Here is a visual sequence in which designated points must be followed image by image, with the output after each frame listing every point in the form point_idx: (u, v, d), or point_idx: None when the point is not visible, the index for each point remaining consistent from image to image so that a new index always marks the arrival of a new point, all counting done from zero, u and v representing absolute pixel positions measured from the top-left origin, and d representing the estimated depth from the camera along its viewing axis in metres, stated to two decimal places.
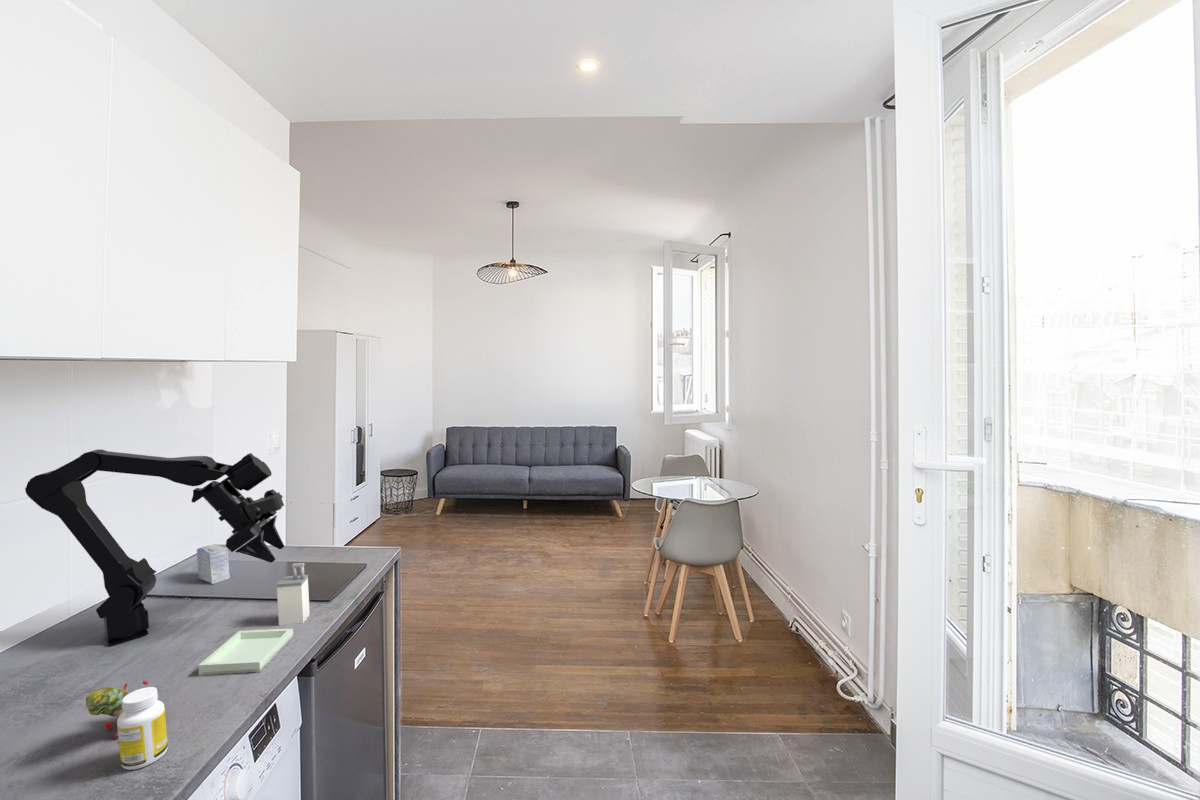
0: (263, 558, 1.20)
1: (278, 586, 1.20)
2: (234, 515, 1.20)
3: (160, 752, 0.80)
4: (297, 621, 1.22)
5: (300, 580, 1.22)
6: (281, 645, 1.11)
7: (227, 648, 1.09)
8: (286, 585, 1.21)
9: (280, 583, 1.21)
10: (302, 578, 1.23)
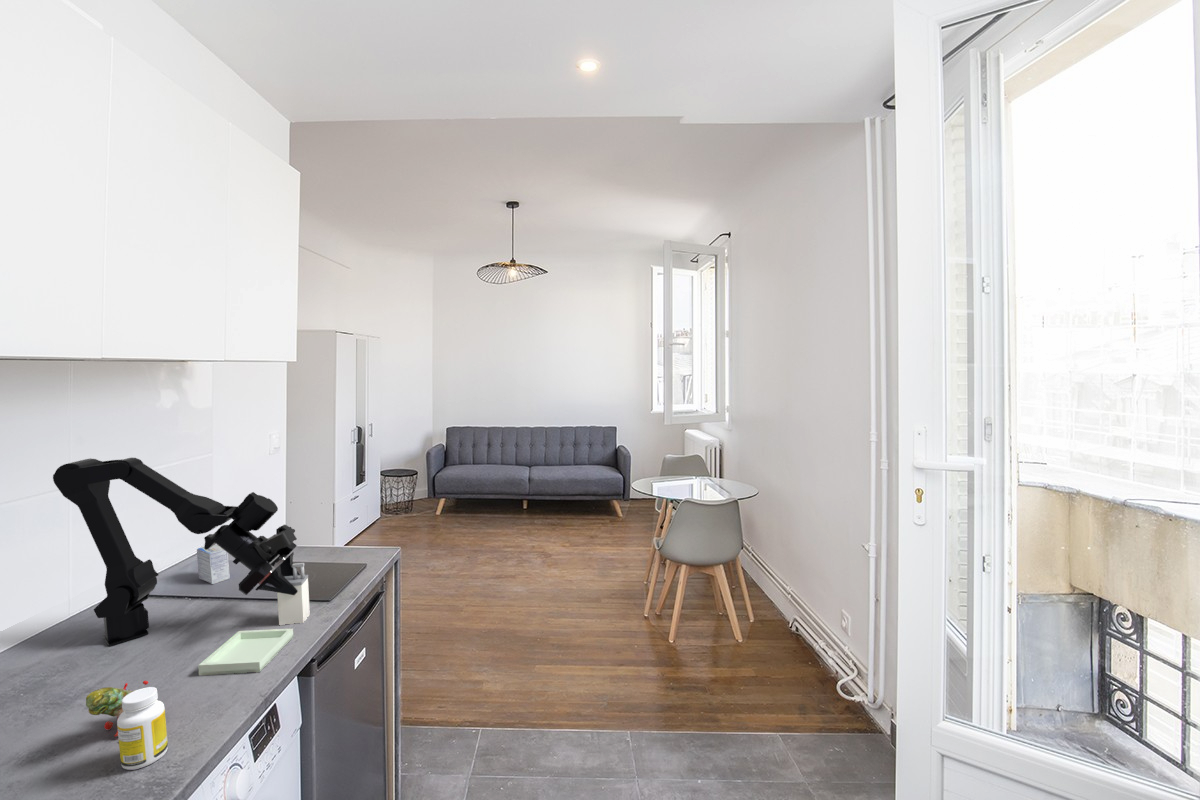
0: (285, 592, 1.20)
1: None
2: (247, 557, 1.18)
3: (160, 752, 0.80)
4: (297, 621, 1.22)
5: (300, 580, 1.22)
6: (281, 645, 1.11)
7: (227, 648, 1.09)
8: None
9: None
10: (302, 578, 1.23)
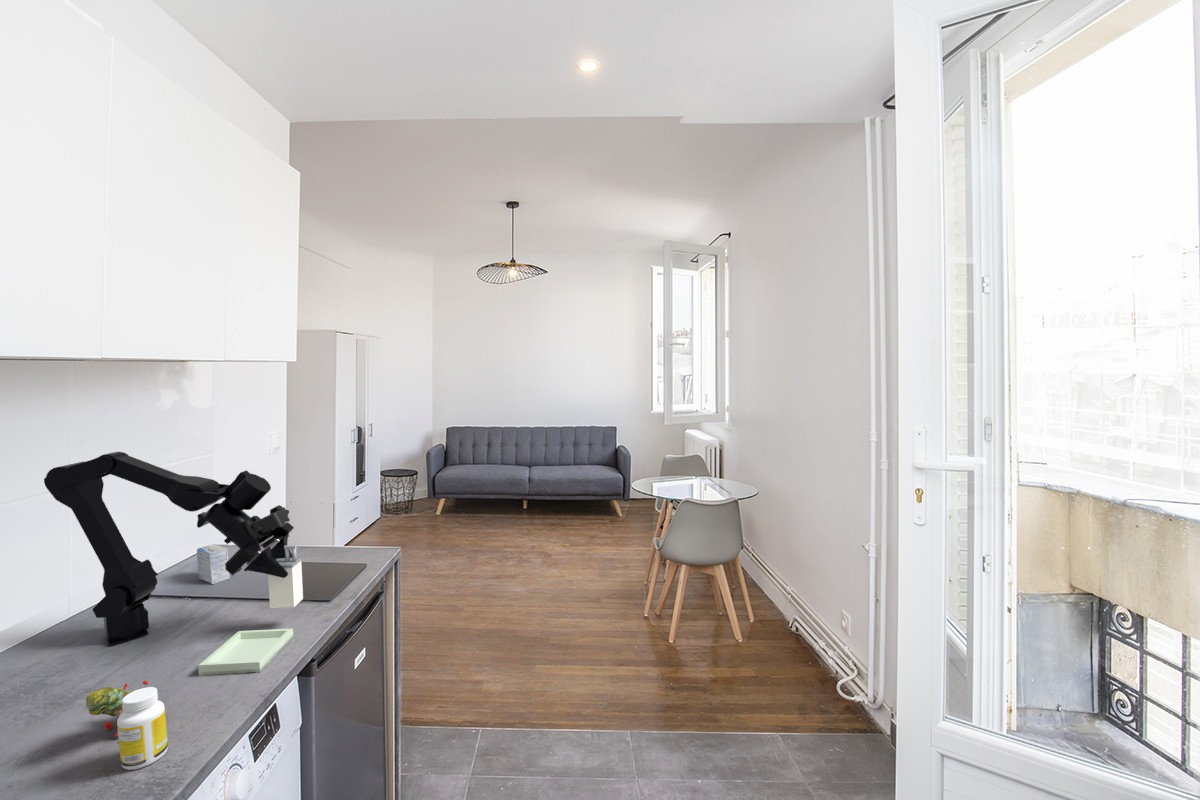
0: (275, 574, 1.16)
1: None
2: (237, 537, 1.15)
3: (160, 752, 0.80)
4: (288, 605, 1.18)
5: (292, 562, 1.18)
6: (281, 645, 1.11)
7: (227, 648, 1.09)
8: None
9: None
10: (294, 560, 1.19)
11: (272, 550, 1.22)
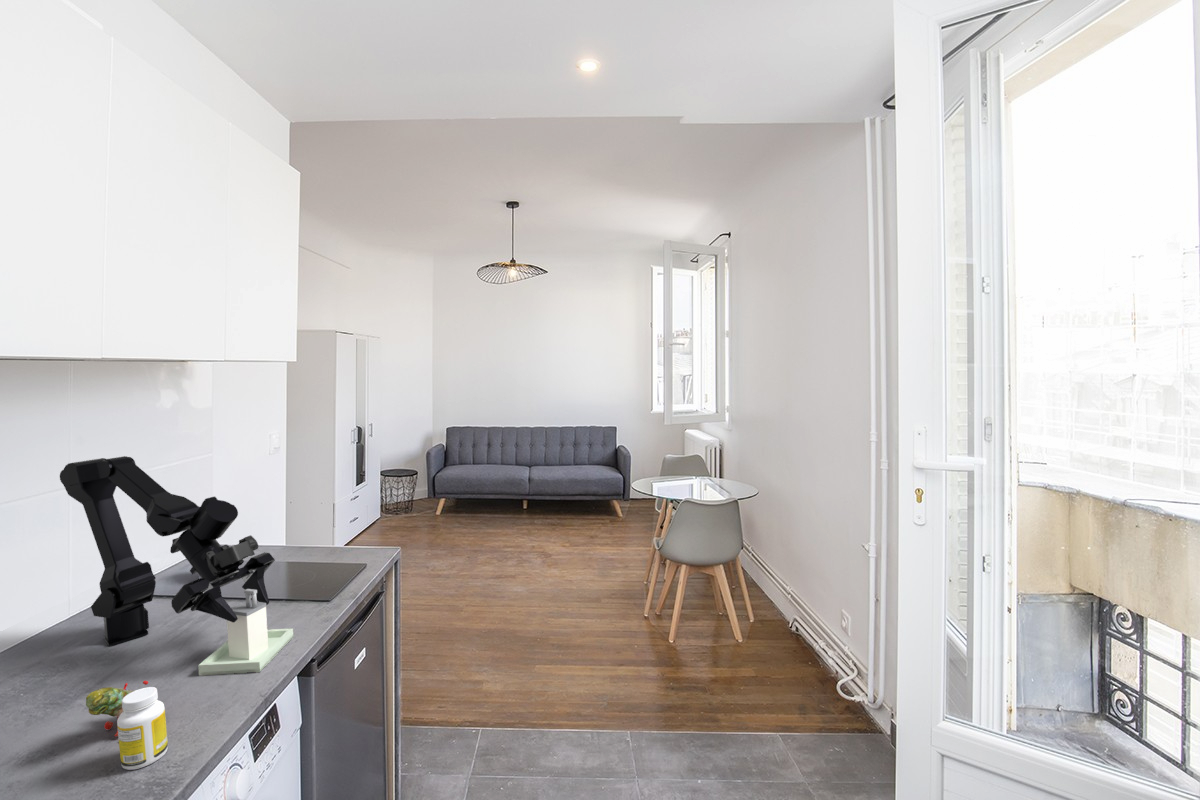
0: (224, 617, 1.04)
1: None
2: (199, 568, 1.07)
3: (160, 752, 0.80)
4: (244, 656, 1.06)
5: (249, 609, 1.06)
6: (281, 645, 1.11)
7: (227, 648, 1.09)
8: None
9: None
10: (253, 607, 1.07)
11: (247, 582, 1.13)
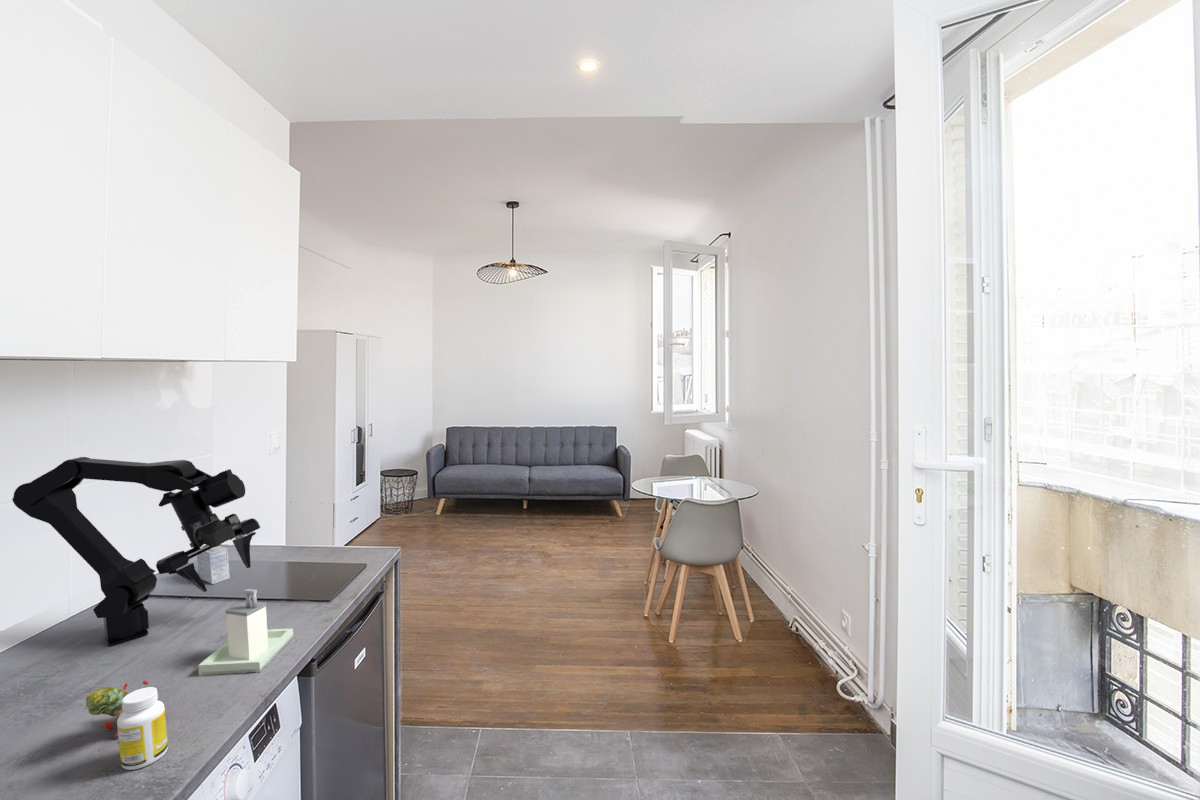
0: (196, 585, 1.15)
1: (227, 612, 1.06)
2: (186, 533, 1.16)
3: (160, 752, 0.80)
4: (244, 656, 1.06)
5: (249, 609, 1.06)
6: (281, 645, 1.11)
7: (227, 648, 1.09)
8: (234, 613, 1.06)
9: (230, 609, 1.07)
10: (253, 607, 1.07)
11: (236, 541, 1.23)
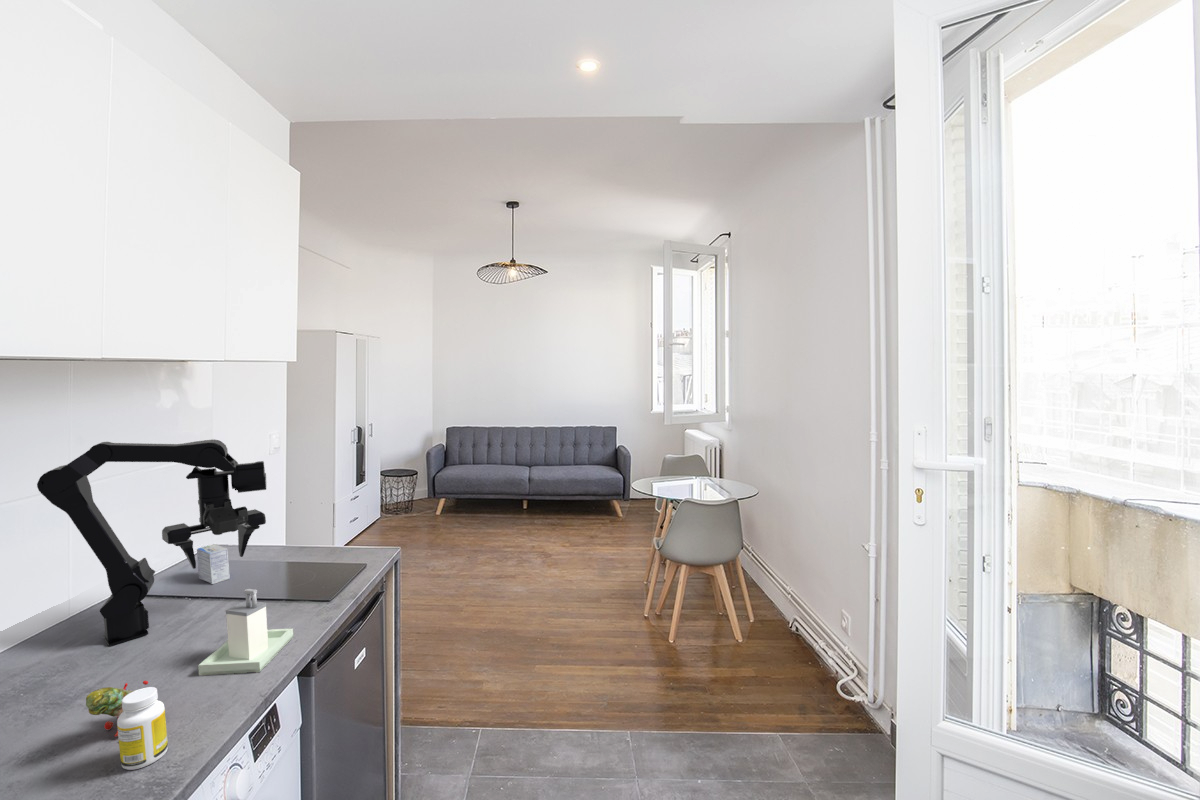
0: None
1: (227, 612, 1.06)
2: (199, 509, 1.21)
3: (160, 752, 0.80)
4: (244, 656, 1.06)
5: (249, 609, 1.06)
6: (281, 645, 1.11)
7: (227, 648, 1.09)
8: (234, 613, 1.06)
9: (230, 609, 1.07)
10: (253, 607, 1.07)
11: (240, 528, 1.28)
